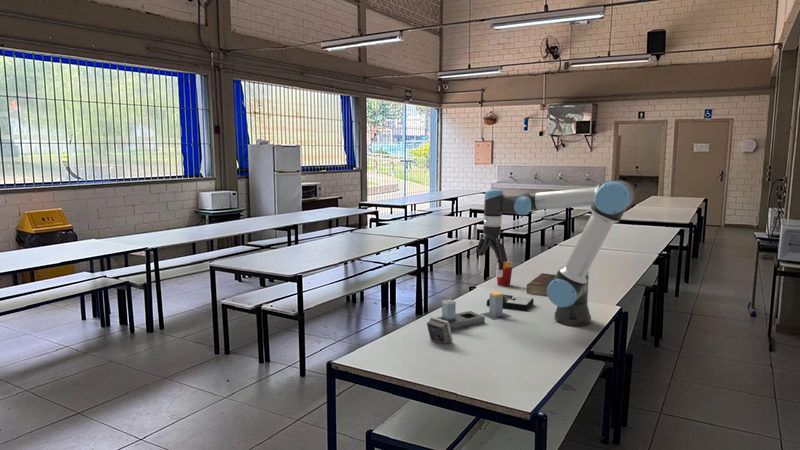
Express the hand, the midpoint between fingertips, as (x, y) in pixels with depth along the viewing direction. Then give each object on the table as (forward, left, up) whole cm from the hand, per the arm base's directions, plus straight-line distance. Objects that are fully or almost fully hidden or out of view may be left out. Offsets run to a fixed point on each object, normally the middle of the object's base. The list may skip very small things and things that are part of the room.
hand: (490, 273), depth 234 cm
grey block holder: (-2, +18, -20) cm, 27 cm away
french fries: (+41, -41, -20) cm, 61 cm away
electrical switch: (-15, +36, -20) cm, 44 cm away
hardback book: (+20, -58, -20) cm, 65 cm away
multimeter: (+8, -19, -20) cm, 29 cm away
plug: (-1, -3, -19) cm, 20 cm away
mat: (-1, -3, -20) cm, 20 cm away
